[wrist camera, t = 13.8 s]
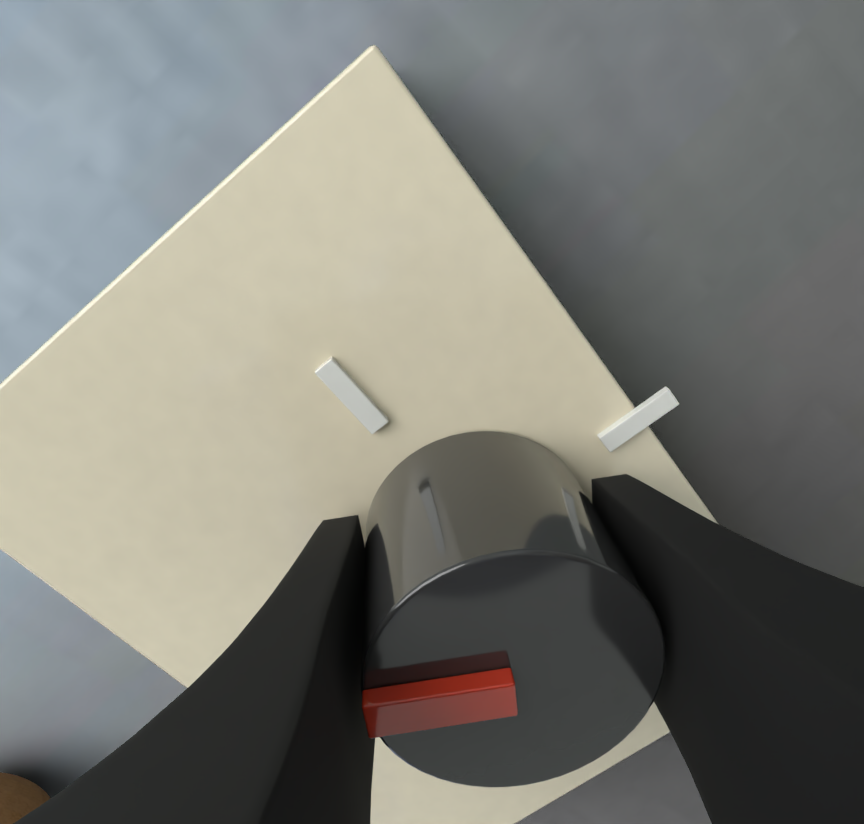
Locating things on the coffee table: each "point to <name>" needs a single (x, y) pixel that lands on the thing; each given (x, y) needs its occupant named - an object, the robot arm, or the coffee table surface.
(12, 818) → the egg
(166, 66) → the coffee table surface
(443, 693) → the knob
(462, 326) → the cream dial panel
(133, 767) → the robot arm
